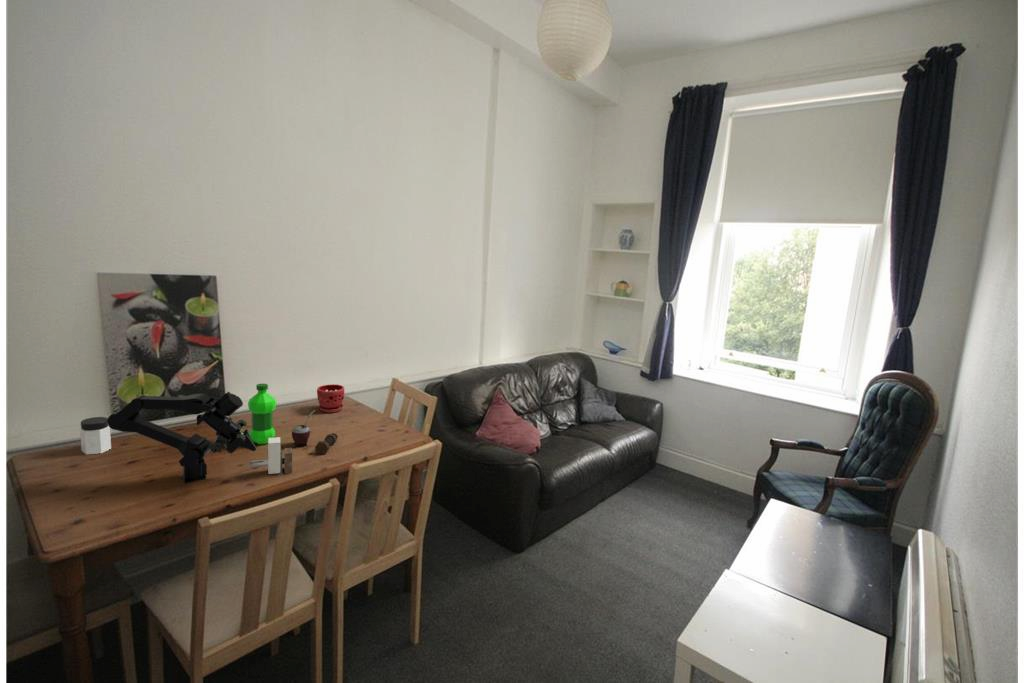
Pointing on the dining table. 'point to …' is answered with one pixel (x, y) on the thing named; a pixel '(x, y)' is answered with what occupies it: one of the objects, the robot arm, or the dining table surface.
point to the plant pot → (330, 397)
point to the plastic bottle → (262, 415)
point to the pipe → (262, 463)
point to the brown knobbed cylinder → (326, 443)
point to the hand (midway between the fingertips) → (255, 450)
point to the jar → (95, 435)
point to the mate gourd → (301, 434)
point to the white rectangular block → (274, 456)
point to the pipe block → (287, 461)
